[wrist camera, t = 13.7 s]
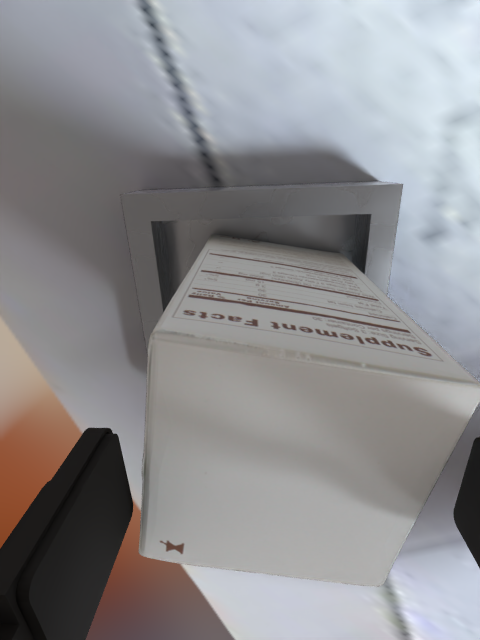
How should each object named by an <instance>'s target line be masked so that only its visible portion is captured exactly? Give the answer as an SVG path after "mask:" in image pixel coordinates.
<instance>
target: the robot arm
mask: <svg viewBox="0 0 480 640" xmlns="http://www.w3.org/2000/svg"><path fill="white" fill-rule="evenodd" d="M132 512H133V501H132V496H131V492H130V487H129V483H128V478H127V474H126V469H125V465H124V460H123V456H122V451H121V447H120V442H119V438H118V435H117V434H113V433H112V430H111V429H110V428H88V429H86V430H85V431H84V433H83V434H82V436H81V437H80V439H79V440H78V442H77V443H76V444H75V446H74V448H73V449H72V450H71V452H70V453H69V455H68V456H67V458H66V459H65V461H64V462H63V464H62V465H61V466H60V468H59V469H58V471H57V472H56V474H55V475H54V477H53V478H52V480H51V481H49V482H47V484H45V486H44V487H43V488H42V489H41V491H40V492H39V494H38V495H37V497H36V498H35V499H34V501H33V502H32V504H31V505H30V507H29V508H28V510H27V511H26V512H25V514H24V515H23V517H22V518H21V520H20V521H19V523H18V524H17V526H16V527H15V528H14V530H13V531H12V533H11V534H10V536H9V537H8V539H7V540H6V541H5V543H4V544H3V546H2V547H1V549H0V640H85V639H86V637H87V634H88V631H89V629H90V626H91V623H92V621H93V618H94V615H95V613H96V610H97V607H98V605H99V602H100V599H101V597H102V594H103V591H104V589H105V586H106V584H107V581H108V578H109V575H110V573H111V570H112V568H113V565H114V562H115V559H116V557H117V554H118V551H119V549H120V546H121V544H122V541H123V538H124V535H125V533H126V530H127V528H128V525H129V522H130V520H131V517H132ZM453 513H454V520H455V523H456V526H457V528H458V530H459V531H460V533H461V535H462V537H463V539H464V541H465V542H466V544H467V546H468V548H469V550H470V551H471V553H472V555H473V557H474V559H475V560H476V562H477V564H478V566H479V568H480V438H476V439H475V440H474V443H473V446H472V450H471V453H470V457H469V460H468V463H467V467H466V470H465V474H464V477H463V480H462V484H461V487H460V491H459V494H458V497H457V501H456V504H455V508H454V512H453Z"/></svg>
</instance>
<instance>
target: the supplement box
mask: <svg viewBox="0 0 480 640" xmlns="http://www.w3.org/2000/svg"><path fill="white" fill-rule="evenodd" d="M479 402H480V383H479V382H478V381H477V380H476V379H475V378H474V377H473V376H472V375H471V374H470V373H469V372H468V371H467V370H465V369H464V368H463V367H462V366H461V365H460V364H459V363H458V362H457V361H456V360H455V359H454V358H452V357H451V356H450V355H449V354H448V353H447V352H446V351H445V350H444V349H443V348H442V347H441V346H440V345H439V344H438V343H437V342H436V341H435V340H434V339H432V338H431V337H430V336H429V335H428V334H427V333H426V332H425V331H424V330H423V329H422V328H421V327H419V326H418V325H417V324H416V323H415V322H414V321H413V320H412V319H411V318H410V317H409V316H408V315H407V314H406V313H405V312H403V311H402V310H401V309H400V308H399V307H398V306H397V305H396V304H395V303H394V302H393V301H391V300H390V299H389V298H388V297H387V296H386V295H385V294H384V293H383V292H382V291H381V290H380V289H379V288H378V287H377V286H376V285H375V284H374V283H373V282H372V281H371V280H369V279H368V278H367V277H366V276H365V275H364V274H363V273H362V272H361V271H360V270H359V269H358V268H357V267H356V266H355V265H354V264H353V263H352V262H350V261H349V260H348V259H347V258H346V257H345V256H344V255H343V254H341V253H333V252H327V251H320V250H313V249H307V248H300V247H294V246H287V245H281V244H274V243H268V242H262V241H255V240H249V239H242V238H236V237H229V236H223V235H216V234H212V235H210V237H209V239H208V241H207V242H206V244H205V246H204V248H203V249H202V251H201V253H200V254H199V256H198V257H197V259H196V261H195V262H194V264H193V266H192V267H191V269H190V270H189V272H188V274H187V275H186V277H185V278H184V280H183V281H182V283H181V285H180V286H179V288H178V290H177V291H176V293H175V294H174V296H173V297H172V299H171V301H170V302H169V304H168V306H167V307H166V309H165V311H164V312H163V314H162V316H161V317H160V319H159V321H158V323H157V325H156V326H155V328H154V330H153V332H152V333H151V335H150V339H149V346H148V365H147V393H146V415H145V438H144V453H143V462H142V480H143V483H142V507H141V525H140V543H139V554H140V555H142V556H145V557H149V558H152V559H158V560H163V561H168V562H174V563H180V564H187V565H194V566H201V567H210V568H219V569H227V570H235V571H244V572H252V573H263V574H270V575H278V576H286V577H294V578H302V579H310V580H319V581H327V582H333V583H342V584H350V585H360V586H377V587H379V586H380V585H382V584H383V583H384V581H385V580H386V577H387V575H388V574H389V572H390V570H391V568H392V565H393V563H394V561H395V560H396V558H397V556H398V554H399V552H400V550H401V548H402V546H403V544H404V542H405V540H406V538H407V536H408V535H409V533H410V531H411V529H412V527H413V525H414V523H415V522H416V520H417V518H418V516H419V514H420V512H421V510H422V508H423V507H424V505H425V503H426V501H427V499H428V497H429V495H430V493H431V491H432V490H433V488H434V486H435V484H436V482H437V480H438V478H439V476H440V474H441V472H442V471H443V469H444V467H445V465H446V463H447V461H448V459H449V457H450V456H451V454H452V452H453V450H454V448H455V446H456V444H457V443H458V441H459V439H460V437H461V435H462V433H463V431H464V430H465V428H466V426H467V424H468V422H469V420H470V418H471V416H472V414H473V413H474V411H475V409H476V407H477V405H478V404H479Z"/></svg>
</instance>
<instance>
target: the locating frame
mask: <svg viewBox="0 0 480 640" xmlns="http://www.w3.org/2000/svg"><path fill="white" fill-rule="evenodd" d="M402 188H403V184H399V183H391V182H382V181H371V182H345V183H319V184H292V185H266V186H240V187H213V188H187V189H161V190H139V191H135V192H130V193H125V194H121V201H122V207H123V213H124V219H125V225H126V231H127V237H128V243H129V249H130V255H131V261H132V267H133V273H134V279H135V285H136V291H137V296H138V302H139V308H140V314H141V320H142V326H143V332H144V338H145V344H146V350H147V356H148V346H149V339H150V335H151V333H152V332H153V330H154V328H155V326H156V325H157V323H158V321H159V319H160V317H161V316H162V314H163V312H164V311H165V309H166V307H167V306H168V304H169V302H170V301H171V299H172V297H173V296H174V294H175V293H176V291H177V290H178V288H179V286H180V285H181V283H182V281H183V280H184V278H185V277H186V275H187V274H188V272H189V270H190V269H191V267H192V266H193V264H194V262H195V261H196V259H197V257H198V256H199V254H200V253H201V251H202V249H203V248H204V246H205V244H206V242H207V241H208V239H209V237H210V235H212V234H216V235H223V236H229V237H236V238H242V239H249V240H255V241H262V242H268V243H274V244H281V245H287V246H294V247H300V248H307V249H313V250H320V251H327V252H333V253H341V254H343V255H344V256H345V257H346V258H347V259H348V260H349V261H350V262H352V263H353V264H354V265H355V266H356V267H357V268H358V269H359V270H360V271H361V272H362V273H363V274H364V275H365V276H366V277H367V278H368V279H369V280H371V281H372V282H373V283H374V284H375V285H376V286H377V287H378V288H379V289H380V290H381V291H382V292H383V293H384V294H385V295H386V296H387V292H388V285H389V278H390V271H391V264H392V257H393V250H394V243H395V237H396V230H397V223H398V216H399V209H400V202H401V195H402Z"/></svg>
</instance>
